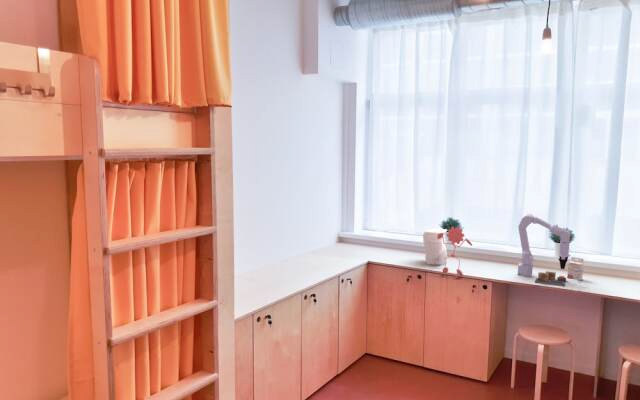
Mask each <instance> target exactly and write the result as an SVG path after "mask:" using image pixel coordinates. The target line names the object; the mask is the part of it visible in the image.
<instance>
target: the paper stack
mask: <svg viewBox="0 0 640 400" xmlns="http://www.w3.org/2000/svg"><path fill="white" fill-rule="evenodd" d="M447 231H448V229H443V228H429V229H426V230H425V231H424V232H423V235H422V238H423V240H422V241H423V245H424V249H425V257H424V258H425V263H426V265H429V266H442V265H445V264H447V262H448V261H447V259H448V258H447V257H448V252H447V251H448V250H447V247H446V244H444V243H445V242H444V243H443V237H442V238H440V239H438V238H437V236H438V234H440V233H443V236H444V235H445V233H446V232H447ZM445 258H446V259H445Z"/></svg>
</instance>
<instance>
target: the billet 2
mask: <svg viewBox="0 0 640 400" xmlns="http://www.w3.org/2000/svg"><path fill="white" fill-rule="evenodd" d="M545 273H549V276H548V280H554V281H556V276H557V275H556V272H555V271H548V270H546V271H545Z"/></svg>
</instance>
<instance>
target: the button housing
mask: <svg viewBox="0 0 640 400" xmlns="http://www.w3.org/2000/svg"><path fill="white" fill-rule="evenodd" d="M556 281H562V282H565V283H566V282H567V277H565V276H564V279H561V278H559V276H557V278H556Z"/></svg>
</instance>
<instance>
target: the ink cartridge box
mask: <svg viewBox="0 0 640 400" xmlns="http://www.w3.org/2000/svg"><path fill="white" fill-rule="evenodd" d="M583 272H584V258H580V257H575V256H570V261H568V266H567V277H566V279H570V280H577V281H582V280H583Z"/></svg>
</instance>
